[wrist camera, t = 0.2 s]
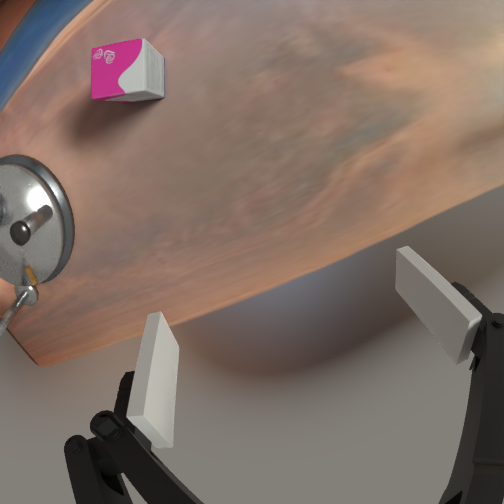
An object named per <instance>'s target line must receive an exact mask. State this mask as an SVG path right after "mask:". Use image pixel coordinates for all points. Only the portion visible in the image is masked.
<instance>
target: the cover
mask: <svg viewBox="0 0 504 504" xmlns="http://www.w3.org/2000/svg"><path fill="white" fill-rule="evenodd" d="M3 215H4V208H3V203H2V199H1V197H0V225H1V223H2V221H3Z"/></svg>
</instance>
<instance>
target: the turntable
mask: <svg viewBox="0 0 504 504" xmlns="http://www.w3.org/2000/svg"><path fill="white" fill-rule="evenodd" d="M0 197H1V199H2V203H3V208H4V215H3V221H2V223H1V225H0V277H1V278H2V279H4V280H6V281H8V282H10V283H12V284H15V285H19V286H33V285H37V284H39V283H41V282H43V281H44V280H46V279H47V278H48V277H49V276H50V275H51V273H52V272H53V271H54V270H55V268H56V267H57V266H58V264H59V262H60V260H61V258H62V256H63V253H64V248H65V241H66V229H65V221H64V217H63V213H62V210H61V207H60V204H59V202H58V199H57V197H56V195H55V194H54V192H53V190H52V189H51V187H50V186H49V184H48V183H47V182H46V181H45V180H44V178H43V177H42V176H41V175H39V174H38V173H37V172H36V171H34V170H33V169H31V168H30V167H28V166H25V165H23V164H19V163H5V164H2V165H0Z"/></svg>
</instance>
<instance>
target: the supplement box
mask: <svg viewBox="0 0 504 504" xmlns="http://www.w3.org/2000/svg"><path fill="white" fill-rule="evenodd" d="M91 65H92V69H91V99H92V100H100V101H113V102H123V103H129V102H137V101H145V100H153V99H160V98H165V59H164V57H163V56H162V55H161V54H160V53H159V52H158V51H157V50H156V49H155V48H154V47H153V46H152V45H151V44H150V43H149V42H148V41H146V39H144V38H143V39H136V40H130V41H125V42H120V43H115V44H110V45H105V46H101V47H97V48H93V49H92V58H91Z"/></svg>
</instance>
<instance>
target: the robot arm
mask: <svg viewBox="0 0 504 504" xmlns="http://www.w3.org/2000/svg"><path fill="white" fill-rule="evenodd" d="M396 257H397V258H396V288H395V289H396V291H397V292H398V293H399V294H400V295H401V297H402V298H403V299H404V300H405V301H406V302H407V304H408V305H409V306H410V307H411V308H412V310H413V311H414V312H415V313H416V314H417V316H418V317H419V318H420V319H421V321H422V322H423V323H424V324H425V325H426V327H427V328H428V329H429V331H430V332H431V333H432V334H433V336H434V337H435V338H436V339H437V341H438V342H439V343H440V345H441V346H442V347H443V348H444V350H445V351H446V352H447V354H448V355H449V356H450V358H451V359H452V360H453V362H454V363H455V364H456V365H457V364H459V363H461V362H463V361H464V360H466V359H468V357H469V354H470V351H471V350H472V352H473V353H474V354H475V356H474V358H473V361H472V363H471V366H470V369H469V370H471V369H472V377H471V385H470V392H469V399H468V406H467V412H466V417H465V422H464V427H463V432H462V437H461V441H460V445H459V449H458V453H457V457H456V460H455V464H454V468H453V471H452V474H451V478H450V481H449V484H448V486H447V488H446V490H445V491H444V493H443V495H442V497H441V500H440V502H439V504H502V502H503V498H504V314H501V313H492V312H491V311H490V310H489V309H488V308H487V307H485V306H484V305H483V304H482V303H481V302H480V301H479V300H478V299H477V298H475V296H474V295H473V294H472V293H470V291H469V290H468V289H467V288H465V287H464V286H463V285H461V284H459V283H457V282H454V283H452V284H450V283H449V282H448V281H447V280H446V279H444V278H443V277H442V276H441V275H440V274H439V273H438V272H437V271H436V270H435V269H433V268H432V267H431V266H430V265H429V264H428V263H427V262H426V261H425V260H423V259H422V258H421V257H420V256H419V255H418V254H417V253H415V252H414V251H413V250H412V249H411V248H410V247H408V246H406V247H402V248H399V249H397V255H396ZM178 357H179V346H178V344H177V342H176V340H175V338H174V336H173V334H172V332H171V330H170V328H169V326H168V324H167V322H166V320H165V318H164V316H163V314H162V312H161V311H159V312H155V313H150V314H148V317H147V321H146V325H145V329H144V333H143V338H142V342H141V346H140V351H139V356H138V360H137V364H136V369H135V371H131V372H126V373H125V375H124V376H123V378H122V379H121V381H120V386H119V391H118V394H117V399H116V403H115V408H114V413H113V412H112V411H108V410H106V411H101V412H99V413H97V414H96V415H95V416H94V417H93V418H92V420H91V422H90V430H91V432H92V433H93V434H94V435H95V436H96V437H94V438H91V439H88V440H86V439H85V438H84V437H83V436H81V435H74V436H72V437H70V438H69V439H68V440H67V441H66V443H65V446H64V453H65V458H66V463H67V468H68V472H69V477H70V481H71V485H72V489H73V493H74V497H75V500H76V504H133V503H132V500H131V498H130V496H129V493H128V491H127V488H126V486H125V484H124V481H123V479H122V476H121V473H124V474H125V475H126V477H127V478H128V479H129V481H130V482H131V483H132V485H133V486H134V487H135V489H136V490H137V491H138V492H139V494H140V495H141V496H142V497H143V498H144V500H145V501H146V502H147V503H148V504H204V503H203V502H201V501H200V500H199V499H198V498H197V497H196V496H195V495H194V494H193V493H192V492H191V491H190V490H189V489H188V488H187V487H186V486H185V485H184V484H182V482H181V481H180V480H178V479H177V477H176V476H175V475H174V474H173V473H172V472H171V471H170V470H169V469H168V468H167V467H166V466H165V465H164V464H163V463H162V462H161V461H160V460H159V458H158V457H157V456H156V455H155V454H154V453H153V452H152V451H151V443H152V444H153V445H154V446H155V447H156V448H157V449H158V448H172V447H173V432H174V413H175V395H176V382H177V370H178Z"/></svg>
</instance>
